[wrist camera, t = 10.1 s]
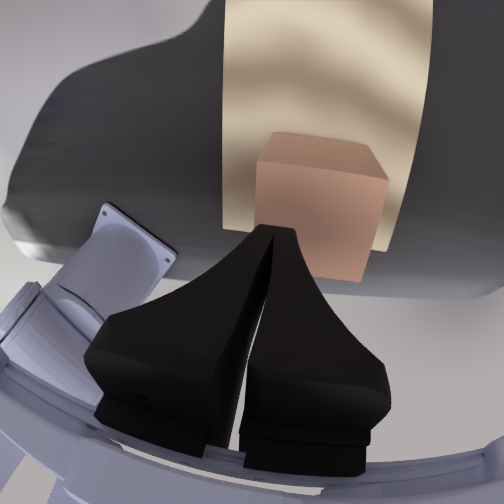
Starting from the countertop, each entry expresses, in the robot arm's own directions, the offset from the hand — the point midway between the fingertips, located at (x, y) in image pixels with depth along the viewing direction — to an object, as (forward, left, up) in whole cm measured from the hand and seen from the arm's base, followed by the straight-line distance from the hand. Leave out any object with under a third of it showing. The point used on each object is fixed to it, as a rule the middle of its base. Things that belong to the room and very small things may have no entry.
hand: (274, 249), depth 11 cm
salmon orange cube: (+1, -2, -8) cm, 8 cm away
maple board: (+5, +1, -10) cm, 11 cm away
